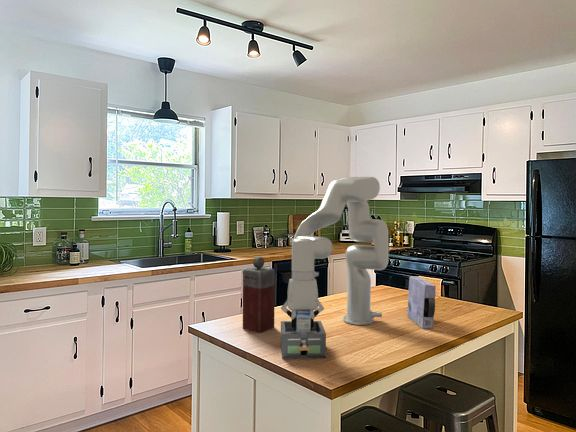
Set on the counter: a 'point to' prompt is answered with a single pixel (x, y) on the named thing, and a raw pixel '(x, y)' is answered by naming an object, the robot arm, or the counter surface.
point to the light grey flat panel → (301, 339)
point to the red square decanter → (258, 297)
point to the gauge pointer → (303, 348)
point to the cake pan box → (421, 302)
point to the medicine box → (303, 322)
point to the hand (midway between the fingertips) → (302, 329)
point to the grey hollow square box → (293, 341)
